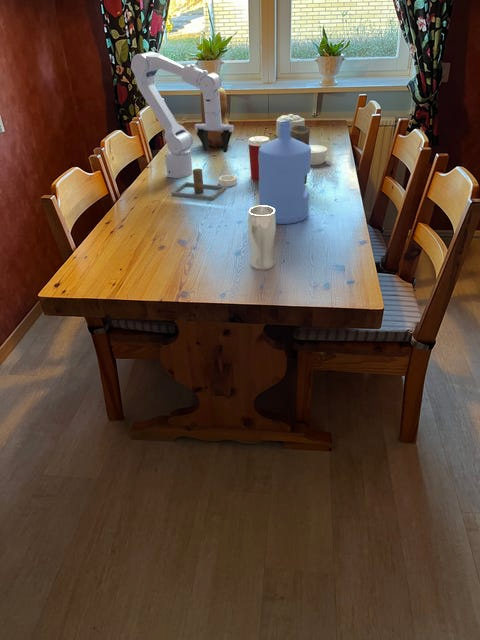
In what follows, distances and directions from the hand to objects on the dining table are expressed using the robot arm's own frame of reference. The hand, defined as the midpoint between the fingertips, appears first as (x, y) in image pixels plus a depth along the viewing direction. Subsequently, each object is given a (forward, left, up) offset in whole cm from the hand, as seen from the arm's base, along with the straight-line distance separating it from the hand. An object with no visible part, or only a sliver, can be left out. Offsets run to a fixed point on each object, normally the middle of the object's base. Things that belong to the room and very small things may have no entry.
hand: (216, 151), depth 181 cm
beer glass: (+39, -58, -11) cm, 71 cm away
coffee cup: (+15, +4, -11) cm, 19 cm away
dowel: (0, -16, -10) cm, 19 cm away
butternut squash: (-20, +41, -11) cm, 47 cm away
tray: (0, -17, -10) cm, 20 cm away
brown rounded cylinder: (+30, +2, -11) cm, 32 cm away
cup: (+6, -5, -10) cm, 13 cm away
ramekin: (+28, +31, -11) cm, 43 cm away
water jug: (+34, -25, -11) cm, 44 cm away
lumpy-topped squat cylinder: (+7, +68, -11) cm, 70 cm away
